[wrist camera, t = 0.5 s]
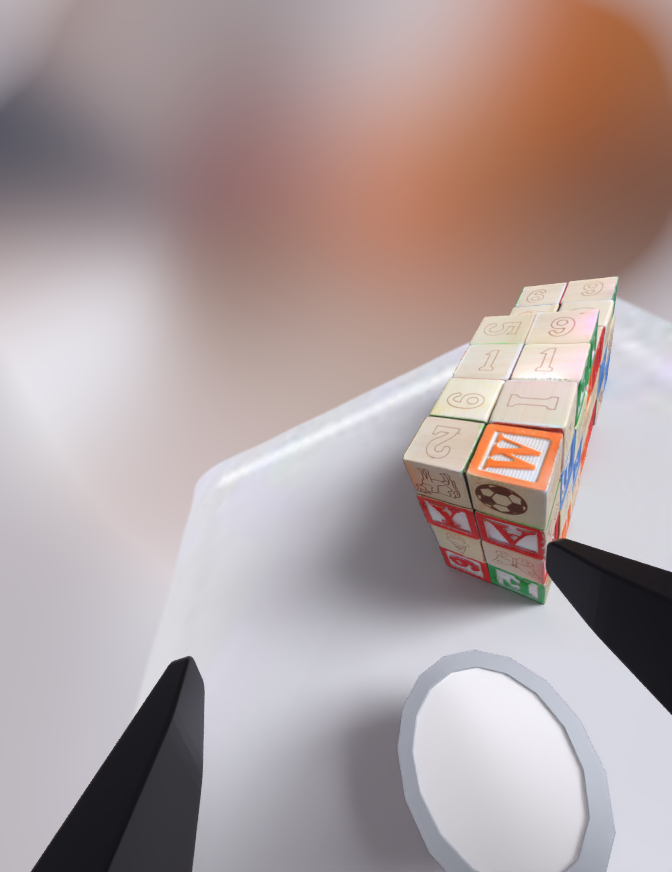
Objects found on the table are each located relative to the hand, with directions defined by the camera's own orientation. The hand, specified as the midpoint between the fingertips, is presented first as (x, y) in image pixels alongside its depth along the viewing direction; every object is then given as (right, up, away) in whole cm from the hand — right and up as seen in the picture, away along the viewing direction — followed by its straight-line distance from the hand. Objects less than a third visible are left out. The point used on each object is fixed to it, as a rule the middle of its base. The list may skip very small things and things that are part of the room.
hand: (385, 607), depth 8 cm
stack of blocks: (+15, +2, +19) cm, 24 cm away
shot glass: (+7, -12, +8) cm, 16 cm away
